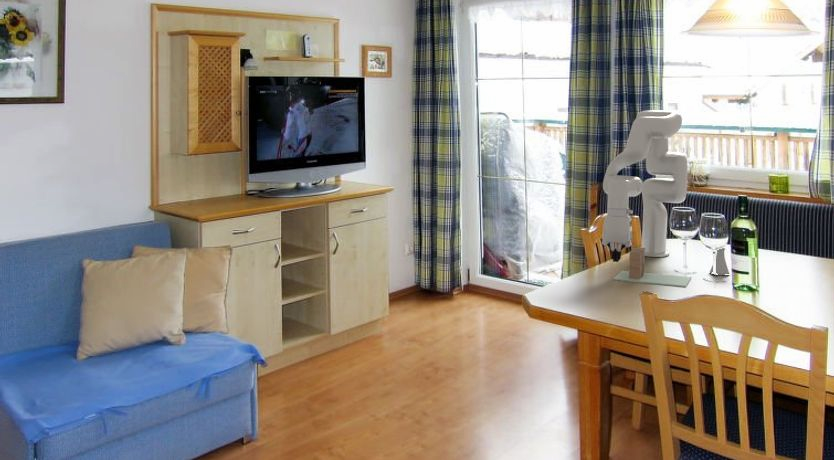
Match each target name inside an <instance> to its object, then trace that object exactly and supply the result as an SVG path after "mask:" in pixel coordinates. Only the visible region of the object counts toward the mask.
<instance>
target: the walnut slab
mask: <svg viewBox="0 0 834 460" xmlns="http://www.w3.org/2000/svg"><path fill="white" fill-rule="evenodd" d="M628 257H629V259H628V260H629V261H628V271H629V278H630V279H640V278H641V277H642V276H643V275H644V273H645V258H646V256H645V248H642V247H636V246H635V247H633V248H632V249H631V250H629V256H628Z"/></svg>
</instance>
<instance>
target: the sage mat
mask: <svg viewBox="0 0 834 460" xmlns="http://www.w3.org/2000/svg"><path fill="white" fill-rule="evenodd" d="M613 280H614V281H618V280H619V281H620V282H628V283H629V282H631V283H639V284H640V283H641V284H649V285H658V286H659V285H660V286H670V287H679V288H681V287H682V288H686V287H687V286H688V284H689V283H690V282H691V280H692V277H691V276H682V275H672V274H671V275H670V274H661V273H651V272H644V275H643V276H642V277H641V278H640V279H630V278H629V270H621V271H620V272H619V273H618V274H616V276H615V277H614V278H613Z"/></svg>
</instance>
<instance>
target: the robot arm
mask: <svg viewBox="0 0 834 460" xmlns="http://www.w3.org/2000/svg"><path fill="white" fill-rule="evenodd" d="M635 117H636V118H635V119H634V121H633V122H632V125H631V128H630V132H629V134H628V138H627V142H626V145H625V149H624V150H623V151H622V152H621V153H619V154H618V155H616V156H615V158H613V159H612V160H611V161H610V162H609V164H608V165H607V168H606V171H605V174H604V177H603V182H602V189H603V192H604V193H605V194H607V203H606V204H607V209H606V215H605V216H604V220H603V226H602V236H601V237H602V238H601V239H602V241H601V245H603V246H606V247H608V248H609V249H610V251H611V259H612V262H616V263H618V262H619V261H620V260H621V258H622V257H621V256H622V250H624V248H630V247H632V246H633V245H632V240H633V227H632V225H633V224H632V217H631V216H630V215H632V214H633V209H630V207H629V204H630V200H629V199H630V198H631V197H632V198H633V197H634V198H635V197H638V196H639V195H640V194H641V195H642V206H643V207H642V208H643V209H642V232H641V233H642V236H641V239H642V240H641V248H645V257H649V258H651V257H652V258H663V257H668V256H669V255H671V254H670V251H669V250H667V233H668V232H667V228H668V211H667V208H666V207H665V204H663V203H668V204H669V203H671V204H681V203H683V202H684V201H685V200H686V198H687V191H688V161H687V160H688V159H687V157H686V155H685V154H684V153H683V152H682V153H681V152H672V151H671V152H670V151H669V139H670V138H671V137H673V136H674V135H675V134H677V133H678V132H679V131H680V129H681V127H682V124H683V123H682V122H683V118H682V114H681V113H680V112H678V111H676V110H649V109H648V110H642V111H639V112H638V113H637V115H636V116H635ZM644 160H645V168H646V172H647V174H649V175H653V176H661V177H662V178H661V177H660V178H659V177H650V178H647V179H645V180H644V181H643V180H642V179H641V178H639V177H638V176H631V175H622V174H621V175H619V174H618V173H619V172H620V171H621V170H622V169H624V168H626V167H629V166H631V165H634V164H636V163H640V162H643V161H644ZM663 176H664V177H672V178H663ZM616 244H617V246H616Z"/></svg>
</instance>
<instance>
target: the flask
mask: <svg viewBox="0 0 834 460" xmlns="http://www.w3.org/2000/svg"><path fill="white" fill-rule="evenodd" d="M725 250H726V248H725V247H724V248H722V249H719V250H717V249H716V256H715V258H716V273H717V274H718V275H725V274H729V275H730V272H729V269H728V268H729V267H728V265H727V261H726V257H725ZM709 272H710V273H712V272H713V264H712V266H711V268H710V270H709Z"/></svg>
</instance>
